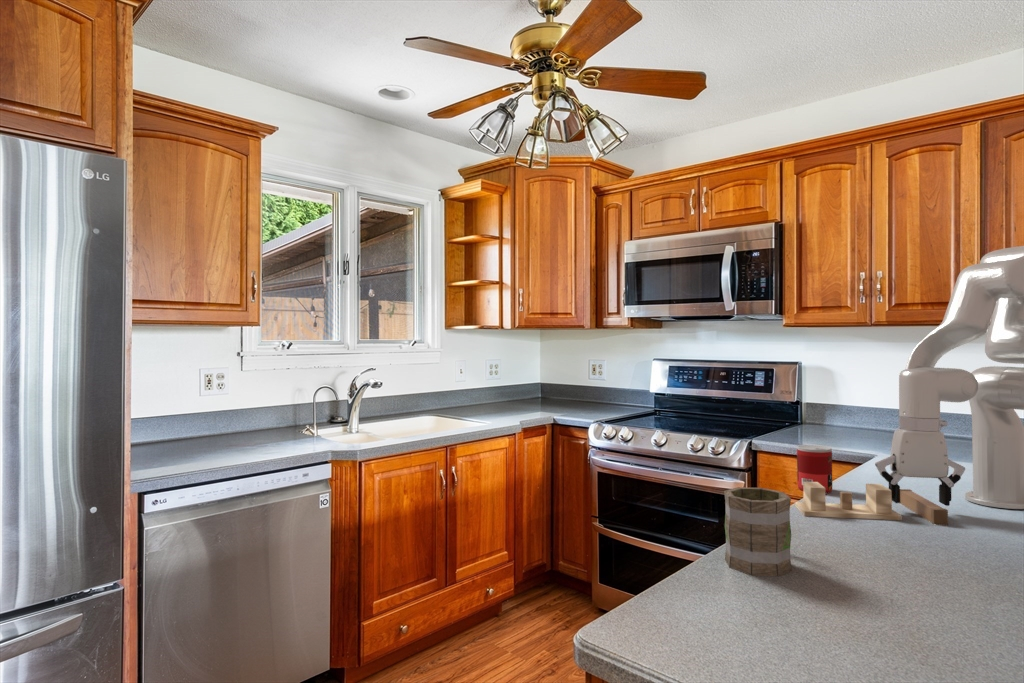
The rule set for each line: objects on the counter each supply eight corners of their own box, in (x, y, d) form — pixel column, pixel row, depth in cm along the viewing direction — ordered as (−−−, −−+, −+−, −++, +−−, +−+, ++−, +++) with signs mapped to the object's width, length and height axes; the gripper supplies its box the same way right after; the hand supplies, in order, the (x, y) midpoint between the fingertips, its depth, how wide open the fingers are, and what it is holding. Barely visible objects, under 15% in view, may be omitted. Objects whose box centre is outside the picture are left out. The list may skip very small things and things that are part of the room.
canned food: (836, 494, 150) (836, 450, 150) (802, 493, 151) (801, 449, 151) (827, 487, 157) (826, 445, 157) (794, 486, 159) (793, 444, 159)
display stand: (886, 510, 135) (886, 483, 135) (901, 520, 127) (901, 491, 127) (795, 506, 139) (795, 480, 139) (804, 515, 131) (804, 488, 132)
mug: (787, 581, 96) (786, 505, 96) (717, 569, 101) (716, 497, 101) (799, 552, 109) (798, 485, 109) (737, 542, 115) (736, 479, 115)
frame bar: (897, 502, 142) (897, 489, 142) (910, 502, 141) (909, 489, 141) (933, 524, 124) (933, 509, 124) (948, 525, 124) (947, 510, 124)
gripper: (955, 424, 135) (955, 501, 135) (869, 421, 138) (869, 496, 138) (973, 428, 127) (973, 509, 127) (882, 426, 131) (882, 505, 131)
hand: (919, 502), depth 133 cm, fingers open, 9 cm apart
